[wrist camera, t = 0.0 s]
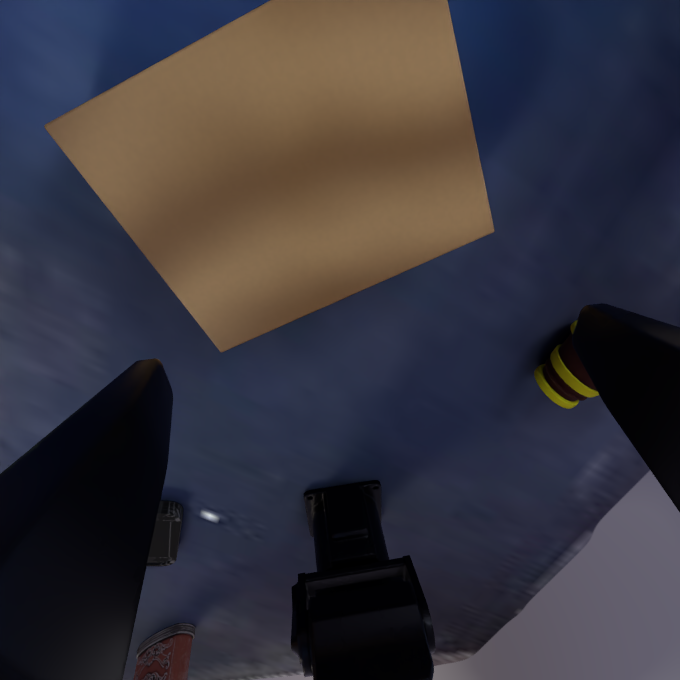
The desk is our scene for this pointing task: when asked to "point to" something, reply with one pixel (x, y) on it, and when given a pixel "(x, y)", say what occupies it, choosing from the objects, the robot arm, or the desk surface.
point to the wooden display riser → (289, 158)
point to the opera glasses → (565, 376)
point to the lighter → (165, 654)
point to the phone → (166, 534)
